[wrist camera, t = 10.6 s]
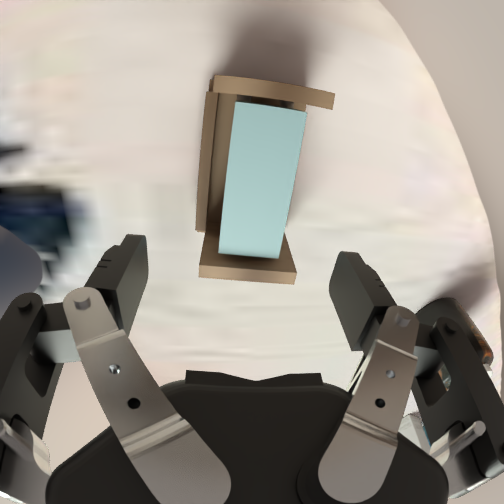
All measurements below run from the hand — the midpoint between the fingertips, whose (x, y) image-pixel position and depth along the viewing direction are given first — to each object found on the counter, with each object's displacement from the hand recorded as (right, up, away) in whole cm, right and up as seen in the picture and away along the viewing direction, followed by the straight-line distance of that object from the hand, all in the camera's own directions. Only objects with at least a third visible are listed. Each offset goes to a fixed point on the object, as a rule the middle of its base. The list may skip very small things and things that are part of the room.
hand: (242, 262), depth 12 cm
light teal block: (+1, +7, +13) cm, 15 cm away
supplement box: (+43, -49, +54) cm, 84 cm away
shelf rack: (+1, +9, +16) cm, 19 cm away
